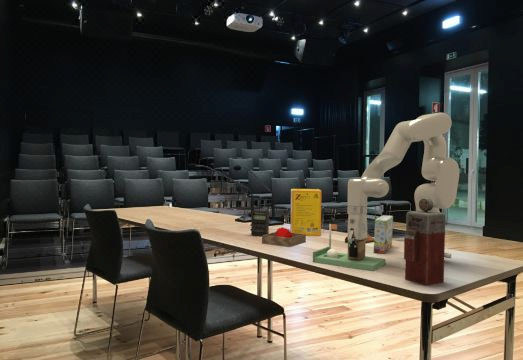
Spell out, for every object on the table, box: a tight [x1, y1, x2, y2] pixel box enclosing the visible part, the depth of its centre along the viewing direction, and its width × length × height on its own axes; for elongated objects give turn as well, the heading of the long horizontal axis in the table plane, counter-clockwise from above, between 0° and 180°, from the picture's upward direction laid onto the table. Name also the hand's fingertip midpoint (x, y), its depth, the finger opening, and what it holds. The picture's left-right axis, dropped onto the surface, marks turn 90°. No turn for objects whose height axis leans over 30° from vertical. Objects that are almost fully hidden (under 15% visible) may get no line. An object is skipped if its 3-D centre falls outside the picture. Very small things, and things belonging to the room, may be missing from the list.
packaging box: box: [289, 188, 322, 237], centre depth 242 cm, size 16×16×25 cm
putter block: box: [347, 240, 366, 260], centre depth 168 cm, size 5×6×7 cm
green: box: [312, 223, 386, 272], centre depth 170 cm, size 25×14×14 cm, turn 56°
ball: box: [326, 248, 339, 258], centre depth 173 cm, size 5×5×5 cm
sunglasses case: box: [344, 233, 374, 244], centre depth 218 cm, size 18×7×7 cm
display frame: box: [261, 231, 307, 248], centre depth 213 cm, size 16×16×4 cm
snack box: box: [373, 214, 394, 255], centre depth 198 cm, size 21×6×15 cm, turn 155°
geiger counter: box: [250, 207, 270, 238], centre depth 232 cm, size 10×4×15 cm, turn 72°
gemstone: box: [275, 227, 292, 238], centre depth 211 cm, size 9×9×10 cm
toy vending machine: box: [403, 198, 446, 286], centre depth 143 cm, size 9×11×28 cm
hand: (356, 255), depth 168 cm, fingers closed on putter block, 6 cm apart
